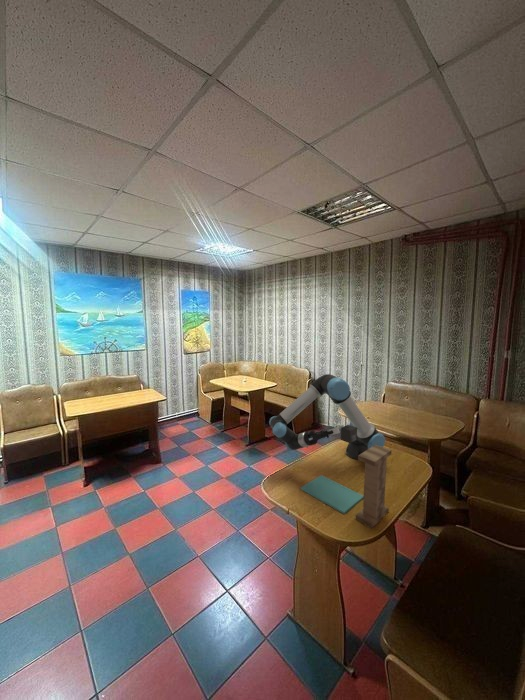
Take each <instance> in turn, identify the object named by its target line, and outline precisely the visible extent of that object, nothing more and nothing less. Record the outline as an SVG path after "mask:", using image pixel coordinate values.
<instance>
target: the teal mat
mask: <svg viewBox="0 0 525 700" xmlns="http://www.w3.org/2000/svg"><path fill="white" fill-rule="evenodd" d="M300 490H301V491H303V492H305V493H306V494H307V495H310V496H312V497H313V498H315V499H317V500H319V502H322V503H323V504H326V505H327V506H328V507H331V508H332V509H334V510H336V511H338V512H339V513H341V514H342V515H345V514H347V513H348V512H349V511H350V510H352V509H353V508H354V507H355V506H356V505H357V504H359V503H360V502H361V501H362V500H364V494H361V493H359V492H357V491H355V490H353V489H350V488H348V487H346V486H344V485H342V484H341V483H339V482H338V481H337V482H336V481H334V480H333V479H330V478H328V477H327V476H324V475H322V474H321V475H319V476H317V477H316V478H314V479H312V480H310V481H309V482H307V483H306V484H304V485H302V486H301V487H300Z"/></svg>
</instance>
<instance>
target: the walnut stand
mask: <svg viewBox="0 0 525 700" xmlns="http://www.w3.org/2000/svg"><path fill="white" fill-rule="evenodd" d="M392 452H393V451H392V449H389V448H387V447H385V446H384V447H381V446H378V445H374V446H373V447H371V448H369V449H368V450H366V451H365V452H363V453H361V454H360V455H358V460H357V461H360V462H362V463H364V476H363V477H364V480H363V496H364V498H363V505H362V509H361V510H360V511H359V512H358V513H356V514H355V520H357V521H358V522H359V523H361V524H364V525H365V526H367V527H369V528H370V529H373V528H374V527H375V526H376V525H377V524H378V523H379V522H380V521H381V520H382V519H383V518H384V517H385V516H386V515H387V514H388V513H389V507H390V506H389V507H388V506H386V505H385V501H386V499H385V498H386V497H385V496H386V483H387V482H386V479H387V464H388V463H387V462H388V461H387V460H388V458H389V457H390V456H391V455H392Z"/></svg>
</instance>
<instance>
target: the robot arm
mask: <svg viewBox="0 0 525 700" xmlns="http://www.w3.org/2000/svg"><path fill="white" fill-rule="evenodd" d="M323 395H327V396H328V397H329V398H330V400H331V401H332V403H333V404H334V405H338V407H340V410H341V411H342V412H343V413H344V415H345V416H346V418H347V419H348V420H349V425H351V426H354V427H357V440H355V441H353V442H351V443H348V442H347V443H348V444H347V447H346V449H345V454H346V455H347V457H349V458H350V459H354V460H357V461H359V460H358V455H360V454H361V453H363V452H365V451H366V450H368V449H369V448H371V447H373V446H374V445H378V446H381V447H384V448H385V444H386V438H385V436H384V434H383V433H380V432H379V431H378V429H377V428H376V427H375V425H374V423H370V422H369V421H368V419H367V418H366V416H365V415H364V414H363V412H362V411H361V410H360V408H359V407H358V405H357V404H356V402H355V401H354V399H353V397H352V396H351V395H352V391H351V388H350V385H349V383H348V382H347V381H346V380H345V379H344V378H341V377H337V376H335V375H332V374H330V373H328V374H327V373H326V374H323V375H321V376H319V377H318V378H316V379H315V380H313V382H311V383H310V384H309V387H308V388H307V389H306V390H305V391H304V392H303V393H301V395H299V396H298V397H297V398H296V399H295V400H294V401H292V402H291V403H290V404H289V405H288V406H287V407H286V408H284V410H282V411H281V412H280V413H279V414H278V415H274V416H272V417H270V418H269V421H268V423H269V426H270V428H271V430H272V434H273V435H275V437H276V438H278V439H280V440H281V441H283V442H284V444H285V447H286V448H287V449H288V450H289V451H297V450H301V449H303V448H306V449H308V448H309V447H310V446H315V445H317V443H318V441H319V440H321V439H325V438H327V439H328V438H330V436H331V435H334V434H338V433H340V431H339V429H341V428H342V427H344V424H342V425H341V424H340V425H338V426H333V427H336V428H333V429H330V430H327V431H328V432H327V431H325V432H324V430H321V431H320V430H319V431H314V430H307V431H303V432H300V433H298V434H297V433H295V431H293V430H292V429H290V428H289V427H288V426H287V425H288V424H289V423H290V422H291V421H293V419H295V418H296V416H298V415H299V414H300V413H301V412H303V411H304V409H306V408H307V407H308V406H309V405H311V403H313V402H314V401H315V400H316V399H317V398H319V397H322V396H323ZM331 437H332V436H331Z"/></svg>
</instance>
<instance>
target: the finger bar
mask: <svg viewBox="0 0 525 700" xmlns="http://www.w3.org/2000/svg"><path fill="white" fill-rule="evenodd" d="M336 427H337V426H334V427H333V426H332V425H326V426H324V432H325V431H327V430H330V429H333V428H336ZM339 431H340V433H338V434H334V435H331V437H335V438H337V439H340V441H343V442H345V443H351V442H353V441H355V440H357V427H354V426H351V425H350V424H346V425H345V426H344V427H342V428H341V429H339ZM327 432H328V431H327Z"/></svg>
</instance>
